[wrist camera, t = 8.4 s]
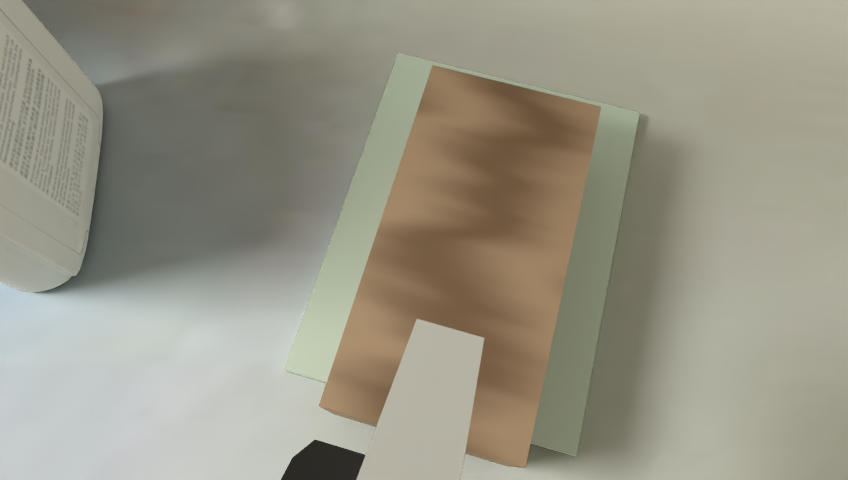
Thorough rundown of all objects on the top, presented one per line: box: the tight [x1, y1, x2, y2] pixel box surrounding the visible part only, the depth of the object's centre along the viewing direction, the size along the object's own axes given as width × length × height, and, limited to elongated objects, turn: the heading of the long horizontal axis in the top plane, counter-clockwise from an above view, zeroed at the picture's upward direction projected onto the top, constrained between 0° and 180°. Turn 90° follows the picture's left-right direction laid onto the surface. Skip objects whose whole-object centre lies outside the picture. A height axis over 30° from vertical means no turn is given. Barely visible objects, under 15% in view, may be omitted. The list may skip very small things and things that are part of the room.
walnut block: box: [319, 65, 601, 468], centre depth 24 cm, size 7×4×14 cm
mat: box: [284, 53, 640, 456], centre depth 26 cm, size 12×16×1 cm
